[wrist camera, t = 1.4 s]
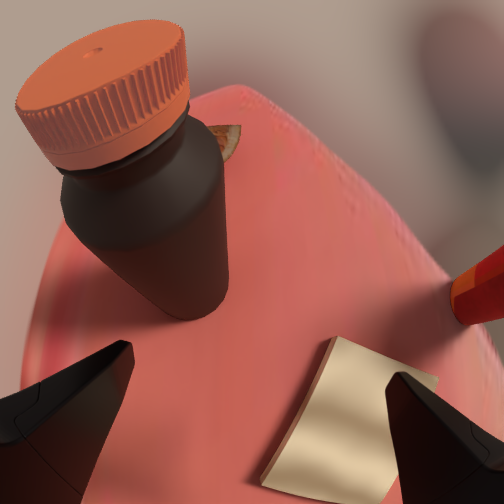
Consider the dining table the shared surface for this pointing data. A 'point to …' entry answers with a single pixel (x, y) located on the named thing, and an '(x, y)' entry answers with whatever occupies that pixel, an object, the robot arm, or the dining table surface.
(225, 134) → the fruit slice
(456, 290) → the coffee cup
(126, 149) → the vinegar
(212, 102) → the dining table surface
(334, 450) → the napkin
